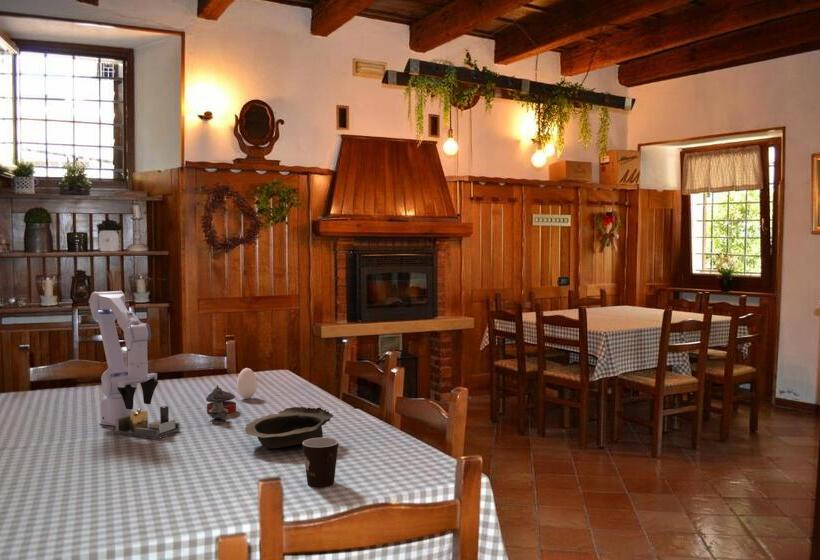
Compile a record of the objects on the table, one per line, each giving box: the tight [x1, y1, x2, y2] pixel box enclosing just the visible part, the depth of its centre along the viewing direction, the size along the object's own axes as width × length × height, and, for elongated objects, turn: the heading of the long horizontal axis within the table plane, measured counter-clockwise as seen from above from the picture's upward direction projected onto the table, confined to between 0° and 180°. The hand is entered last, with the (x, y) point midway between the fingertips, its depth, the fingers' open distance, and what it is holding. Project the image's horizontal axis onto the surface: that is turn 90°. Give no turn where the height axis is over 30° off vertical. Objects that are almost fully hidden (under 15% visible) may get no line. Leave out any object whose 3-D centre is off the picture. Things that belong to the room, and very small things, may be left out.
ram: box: [148, 405, 176, 434], centre depth 215 cm, size 4×7×7 cm, turn 158°
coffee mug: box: [301, 437, 339, 489], centre depth 168 cm, size 12×9×10 cm
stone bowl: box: [244, 406, 334, 450], centre depth 203 cm, size 25×25×9 cm
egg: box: [236, 367, 258, 400], centre depth 266 cm, size 7×7×12 cm
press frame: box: [113, 415, 181, 440], centre depth 217 cm, size 16×10×4 cm, turn 68°
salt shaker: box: [209, 384, 227, 424], centre depth 231 cm, size 6×6×12 cm
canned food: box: [205, 390, 237, 416], centre depth 244 cm, size 11×10×10 cm
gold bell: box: [130, 408, 149, 430], centre depth 218 cm, size 5×5×6 cm
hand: (138, 406), depth 218 cm, fingers open, 7 cm apart
